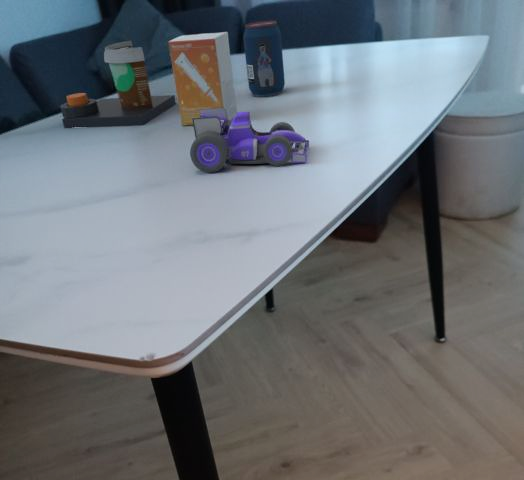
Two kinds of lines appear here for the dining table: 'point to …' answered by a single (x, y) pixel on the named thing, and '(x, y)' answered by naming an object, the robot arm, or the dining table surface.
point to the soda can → (264, 58)
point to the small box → (202, 74)
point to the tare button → (77, 99)
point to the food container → (129, 75)
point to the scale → (112, 113)
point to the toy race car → (241, 142)
